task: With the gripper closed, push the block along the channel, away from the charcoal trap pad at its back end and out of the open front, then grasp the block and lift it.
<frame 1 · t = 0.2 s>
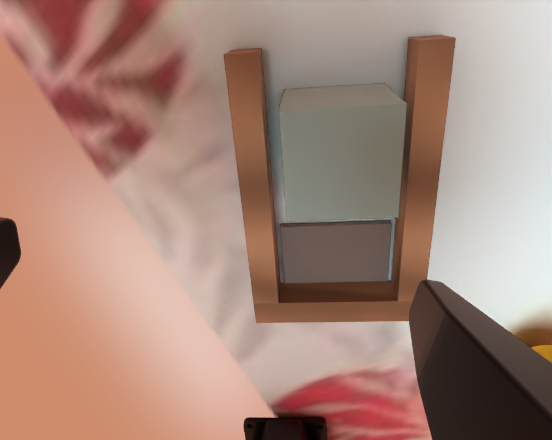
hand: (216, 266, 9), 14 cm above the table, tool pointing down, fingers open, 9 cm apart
trap: (335, 251, 25), on the table
channel: (334, 179, 23), on the table
block: (334, 134, 22), on the table
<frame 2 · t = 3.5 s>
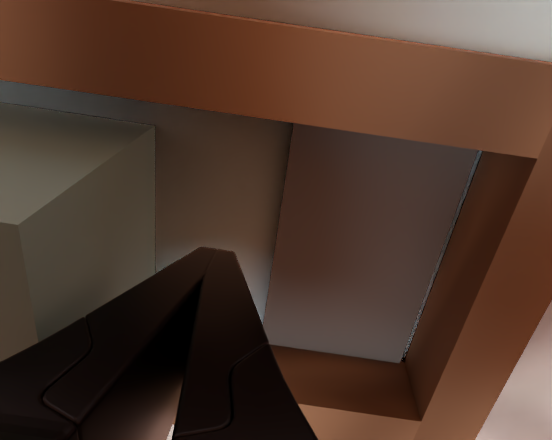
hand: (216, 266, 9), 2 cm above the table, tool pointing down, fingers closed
trap: (352, 250, 10), on the table
channel: (172, 224, 10), on the table
block: (59, 206, 10), on the table, touching gripper
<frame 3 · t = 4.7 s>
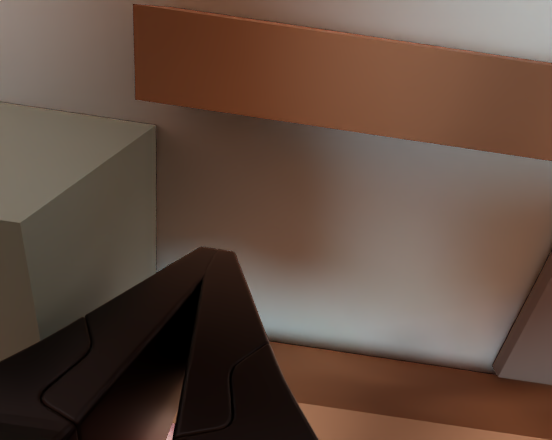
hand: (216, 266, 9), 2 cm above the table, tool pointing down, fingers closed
channel: (434, 262, 11), on the table
block: (60, 206, 11), on the table, touching gripper
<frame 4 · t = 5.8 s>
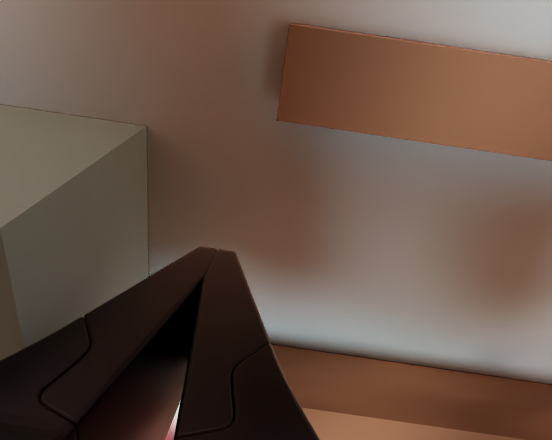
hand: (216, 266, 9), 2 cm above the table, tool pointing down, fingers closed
channel: (533, 278, 10), on the table
block: (50, 208, 10), on the table, touching gripper
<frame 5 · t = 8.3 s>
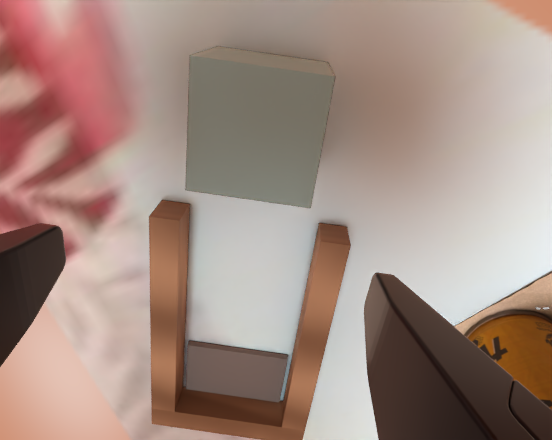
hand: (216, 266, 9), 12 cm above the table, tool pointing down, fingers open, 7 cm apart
trap: (235, 370, 27), on the table
channel: (242, 315, 25), on the table
block: (266, 109, 19), on the table
condiment: (520, 339, 25), on the table
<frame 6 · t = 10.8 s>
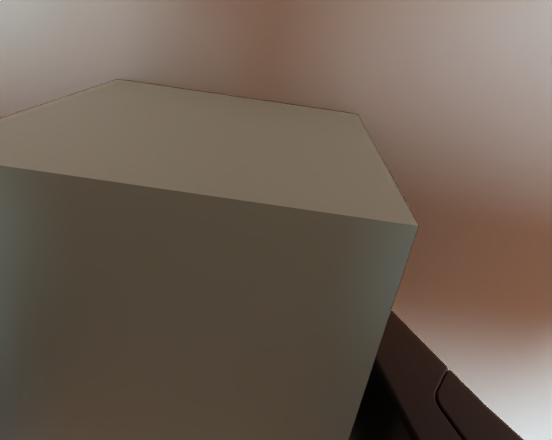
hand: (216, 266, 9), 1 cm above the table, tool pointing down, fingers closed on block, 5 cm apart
block: (228, 205, 9), on the table, touching gripper
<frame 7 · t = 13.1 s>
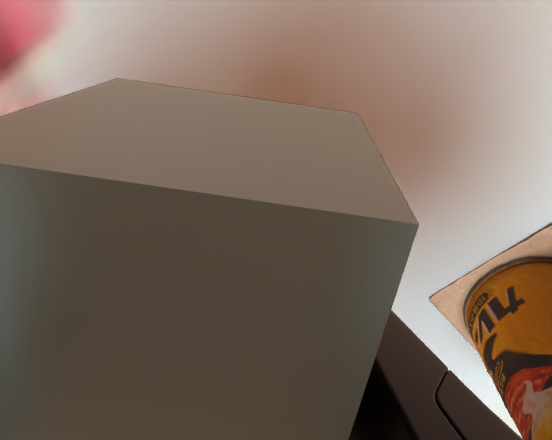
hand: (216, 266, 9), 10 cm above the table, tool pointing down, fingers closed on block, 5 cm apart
block: (228, 205, 9), point 9 cm above the table, touching gripper
condiment: (537, 295, 21), on the table
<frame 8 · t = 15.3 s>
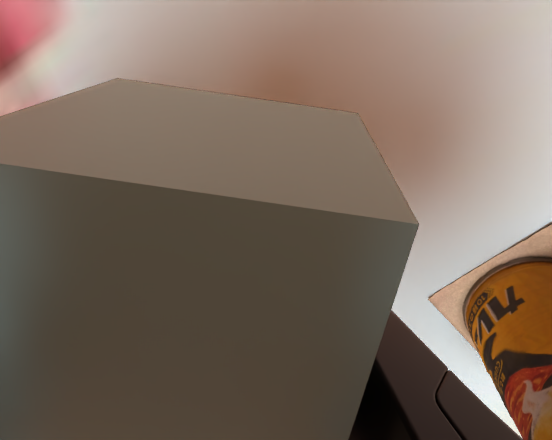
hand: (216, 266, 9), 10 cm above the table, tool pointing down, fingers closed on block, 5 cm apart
block: (228, 205, 9), point 9 cm above the table, touching gripper
condiment: (537, 294, 21), on the table
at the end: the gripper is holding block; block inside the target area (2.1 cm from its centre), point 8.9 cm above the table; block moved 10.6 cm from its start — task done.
